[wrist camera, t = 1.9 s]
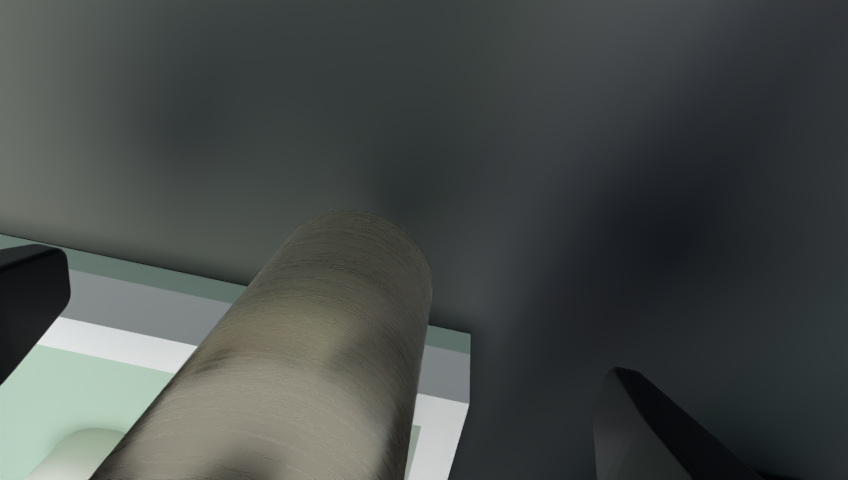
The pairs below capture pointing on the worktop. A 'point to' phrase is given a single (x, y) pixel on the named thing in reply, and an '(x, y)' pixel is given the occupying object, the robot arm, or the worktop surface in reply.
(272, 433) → the cylinder
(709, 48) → the worktop surface
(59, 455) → the puck
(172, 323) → the pitch
